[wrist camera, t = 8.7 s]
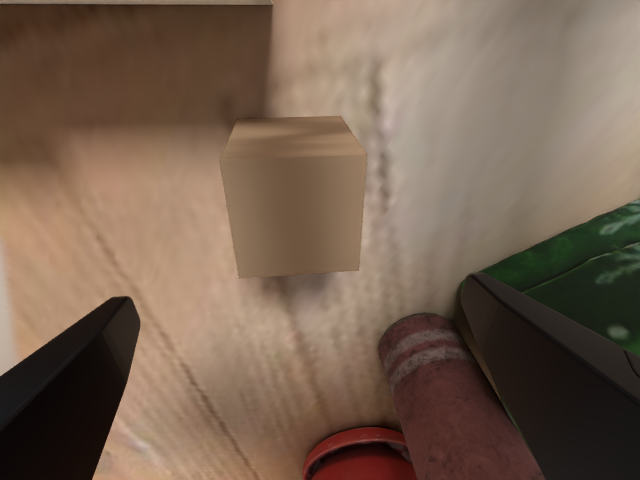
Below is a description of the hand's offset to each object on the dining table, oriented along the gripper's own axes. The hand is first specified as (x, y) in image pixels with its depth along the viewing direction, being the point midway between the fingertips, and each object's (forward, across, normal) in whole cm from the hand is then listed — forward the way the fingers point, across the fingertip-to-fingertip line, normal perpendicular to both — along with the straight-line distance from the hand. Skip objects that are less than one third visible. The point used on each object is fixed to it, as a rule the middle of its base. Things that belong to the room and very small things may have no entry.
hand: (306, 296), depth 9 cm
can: (+10, -9, +14) cm, 20 cm away
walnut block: (+10, 0, 0) cm, 10 cm away
